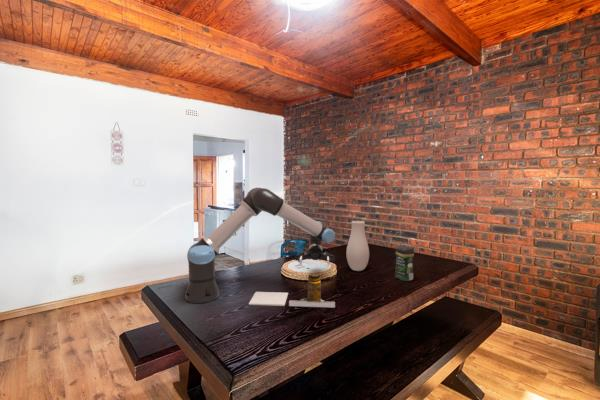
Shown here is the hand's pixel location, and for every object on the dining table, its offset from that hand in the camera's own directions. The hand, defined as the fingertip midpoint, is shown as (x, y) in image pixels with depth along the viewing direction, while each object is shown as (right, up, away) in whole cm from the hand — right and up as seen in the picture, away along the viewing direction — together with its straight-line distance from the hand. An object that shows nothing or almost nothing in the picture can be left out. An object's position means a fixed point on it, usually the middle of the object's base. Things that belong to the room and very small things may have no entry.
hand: (314, 262), depth 146 cm
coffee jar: (+51, -14, +21) cm, 57 cm away
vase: (+28, -13, +38) cm, 49 cm away
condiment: (-1, -16, -9) cm, 18 cm away
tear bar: (-2, -16, -15) cm, 22 cm away
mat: (-21, -16, -7) cm, 27 cm away
